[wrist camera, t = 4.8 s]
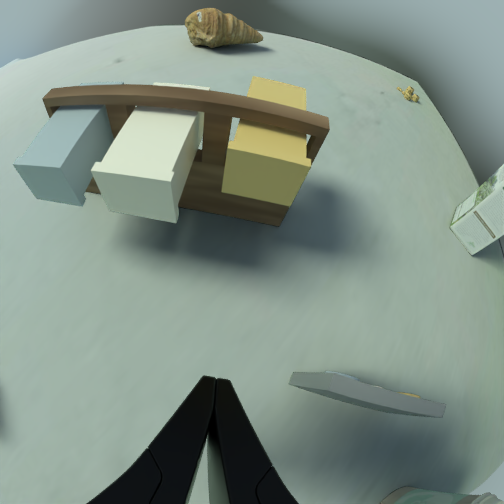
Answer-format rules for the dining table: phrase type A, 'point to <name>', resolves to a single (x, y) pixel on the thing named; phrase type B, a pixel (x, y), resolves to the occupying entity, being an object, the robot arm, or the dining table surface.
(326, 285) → the dining table surface
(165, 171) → the middle button
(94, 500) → the robot arm
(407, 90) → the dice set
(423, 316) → the dining table surface
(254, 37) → the seashell
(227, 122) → the button board
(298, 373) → the card
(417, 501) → the coffee cup
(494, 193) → the syrup box
